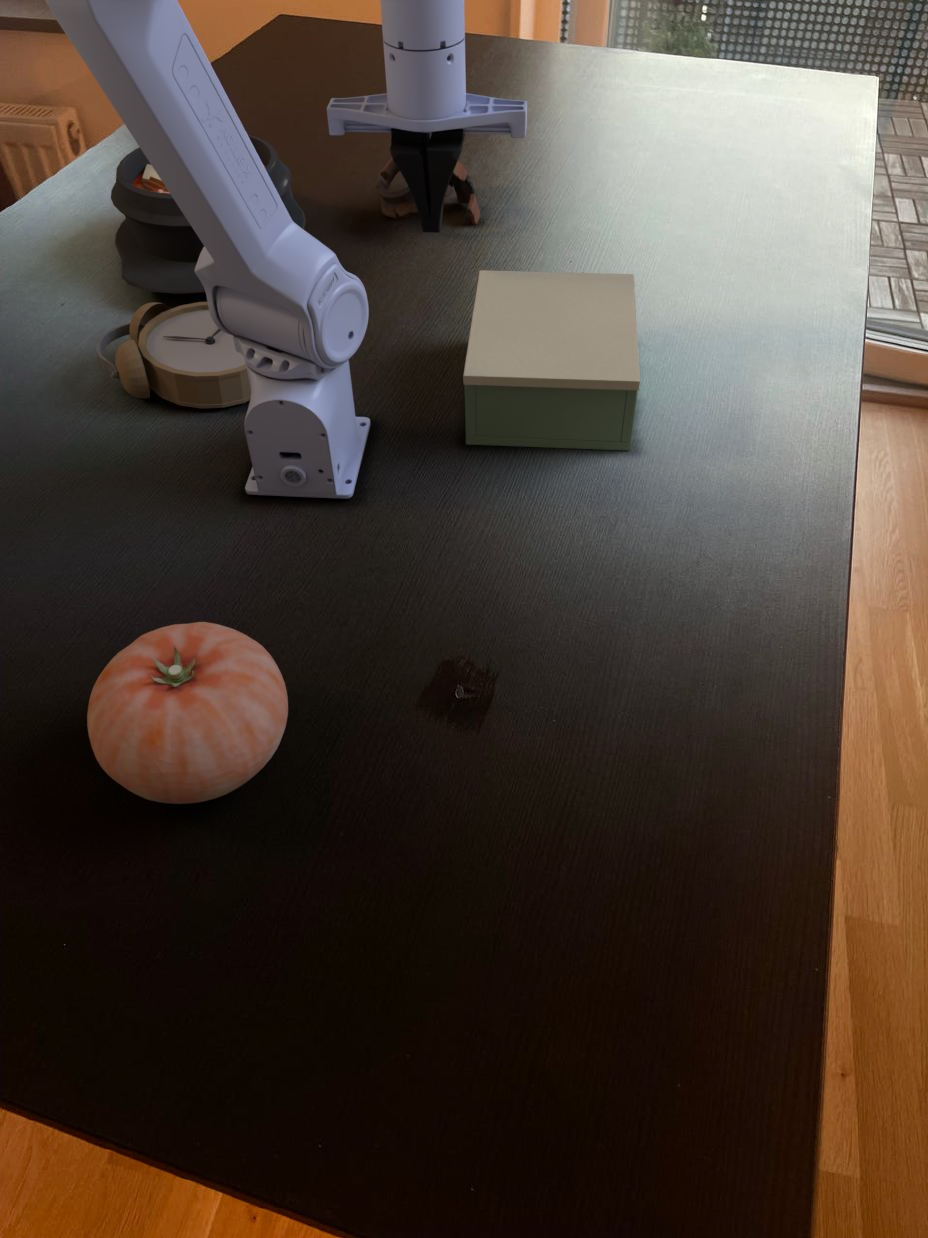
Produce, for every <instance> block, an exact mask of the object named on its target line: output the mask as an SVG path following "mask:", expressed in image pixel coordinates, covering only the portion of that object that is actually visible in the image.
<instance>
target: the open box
mask: <svg viewBox="0 0 928 1238" xmlns="http://www.w3.org/2000/svg"><path fill="white" fill-rule="evenodd" d="M638 392H639V390H609V389H579V388H549V387H519V386H489V385H464V420H465V423H464V424H465V425H464V426H465V445H469V446H471V445H473V446H474V445H475V446H500V447H523V448H525V447H526V448H551V449H553V448H554V449H575V450H576V449H579V450H580V449H581V450H605V451H627V452H628V451H631V448H632V440H633V430H634V425H635V424H634V422H635V416H636V407H637V402H638V401H637V400H638Z"/></svg>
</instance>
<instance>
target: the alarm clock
mask: <svg viewBox="0 0 928 1238" xmlns="http://www.w3.org/2000/svg"><path fill="white" fill-rule="evenodd" d="M126 336H129V338H130V339H128V340H126V341H124V342H123V343H121V344H120V345H119V346H118V348H117V351H116V354H115V365H114V364H113V363H112V362H111V360H108V359H107V358H105V356H103V353H104V351H105V350H106V348H107V347H108V346H109V345H110V344H111V343H113V342H114V341H116V340H118V339H120V338H123V337H126ZM95 347H96V348H95V349H96V355H97V360H98V362H99V364H100V366H101V367H102V368H103V369H104V370H106V371H107V372H109V373H110V377H111V379H114V380H117V381H118V383H119V382H120V384H121V386H122V387H123V388H124V389H125V391H126V392H127V393H128V394H130V395H131V396H132V397H135V398H137V399H150V398H151V391H153V392H154V393H155V394H156V395H158V397H160V398H161V399H163V400H165V401H168V402H170V403H173V404H176V405H178V406H182V407H187V408H188V407H190V408H194V409H195V408H196V409H222V408H227V407H232V406H237V405H240V404H245V403H247V402H250V399H251V387H250V382H249V378H248V373H247V368H246V363H245V359H244V356H243V355H242V354H241V353H239V352H237V351H236V349H235V345H234V340H233V335H230V334H227V333H225V332H223V331H222V330H220V329H219V328H218V327H217V326H216V324H215V323H214V321H213V319H212V317H211V315H210V311H209V307H208V302H207V301H198V302H192V303H187V304H182V305H181V304H180V305H178V306H175V307H173V308H170V306H168V305H167V304H165V303H162V302H148V303H145V304H143V305H141V306H140V307H139V308H138V309H137V310H136V311H135V313H134V314H133V316H132V317H131V319H130V322H128V323H124V324H120V325H117V326H115V327H113V328H111V329H109V330H107V331H105V332H104V333H103V334H102V335H101V336H100V338H98V340H97V342H96V346H95ZM150 390H151V391H150Z"/></svg>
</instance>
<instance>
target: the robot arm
mask: <svg viewBox="0 0 928 1238" xmlns="http://www.w3.org/2000/svg"><path fill="white" fill-rule="evenodd" d="M44 1H45V3H46V5H47V7H48V9H49V11H50V12H51V14H52V15H53V17H54V18H55V20H56V22H57V23H58V25H59V26H60V27H61V29H62V31H63V32H64V33H65V36H66V37H67V38H68V39H69V41H70V43H71V44H72V46H73V47H74V49H75V50H76V52H77V54H78V56H79V57H80V58H81V60H82V61H83V63H84V64H85V66H86V67H87V69H88V70H89V72H90V73H91V75H92V76H93V78H94V79H95V81H96V82H97V84H98V86H99V87H100V88H101V90H102V92H103V93H104V95H105V96H106V98H107V99H108V101H109V102H110V104H111V105H112V107H113V109H114V110H115V112H116V113H117V114H118V116H119V118H120V119H121V120H122V122H123V124H124V125H125V127H126V129H127V130H128V131H129V133H130V134H131V136H132V137H133V139H134V141H135V143H136V144H137V145H138V148H139V147H140V148H141V150H142V151H143V153H144V154H145V156H146V157H147V159H148V160H149V162H150V163H151V165H152V167H153V168H154V170H155V171H156V173H157V174H158V176H159V177H160V179H161V180H162V182H163V183H164V185H165V186H166V188H167V190H168V191H169V193H170V194H171V196H172V197H173V199H174V200H175V202H176V203H177V205H178V206H179V208H180V209H181V211H182V213H183V214H184V216H185V217H186V219H187V220H188V222H189V223H190V225H191V226H192V228H193V229H194V231H195V232H196V234H197V235H198V237H199V239H200V240H201V242H202V243H203V245H204V248H203V249H202V251H201V253H200V256H199V259H198V261H197V264H196V267H195V274H196V275H197V276H198V278H199V279H200V281H201V283H202V284H203V286H204V289H205V292H204V293H205V295H206V302H208V307H209V311H210V315H211V317H212V319H213V321H214V323H215V324H216V326H217V327H218V328H219V329H220V330H222V331H223V332H225V333H227V334H230V335H233V340H234V345H235V349H236V351H237V352H239V353H241V354H242V355H243V356H244V359H245V363H246V368H247V373H248V378H249V382H250V387H251V399H250V400H249V403H248V408H247V411H246V413H245V417H244V423H243V424H244V435H245V440H246V444H247V448H248V452H249V457H250V462H251V465H252V467H251V470H250V473H249V475H248V478H247V481H246V484H245V487H244V491H245V493H246V494H247V495H250V496H271V497H292V498H293V497H294V498H318V499H343V500H346V499H347V500H348V499H350V498H352V497H353V496H354V493H355V490H356V489H355V488H356V485H357V480H358V475H359V472H360V468H361V464H362V460H363V457H364V452H365V448H366V445H367V441H368V436H369V432H370V429H371V419H370V418H369V417H366V416H356V410H355V402H354V401H355V400H354V393H353V384H352V375H351V368H350V361H349V360H350V359H351V358H352V357H353V355H355V353H356V352H357V351H358V350H359V348H360V346H361V345H362V342H363V340H364V338H365V336H366V332H367V329H368V324H369V317H370V316H369V313H370V309H369V308H370V307H369V301H368V294H367V291H366V289H365V285H364V284H363V281H361V279H360V278H359V277H358V276H357V275H355V274H353V273H351V272H349V271H347V270H345V268H344V267H343V266H342V264H341V262H340V260H339V258H338V257H337V254H336V253H335V252H334V251H333V250H331V249H330V248H329V247H328V246H326V245H325V244H324V243H322V242H321V241H320V240H319V239H317V238H316V237H315V236H313V235H312V234H310V233H309V232H307V231H306V230H303V229H302V228H301V227H299V226H298V225H297V224H296V223H294V222H293V221H292V219H291V217H290V215H289V213H288V211H287V209H286V207H285V206H284V204H283V202H282V200H281V198H280V196H279V194H278V192H277V190H276V188H275V186H274V185H273V183H272V181H271V179H270V177H269V175H268V173H267V171H266V169H265V167H264V165H263V163H262V162H261V160H260V158H259V156H258V154H257V152H256V150H255V148H254V146H253V144H252V142H251V141H250V139H249V137H248V135H249V134H248V133H247V131H246V130H245V127H244V125H243V123H242V121H241V120H240V118H239V116H238V114H237V112H236V110H235V108H234V106H233V105H232V102H231V100H230V99H229V96H228V95H227V93H226V91H225V89H224V87H223V85H222V83H221V81H220V79H219V77H218V75H217V73H216V72H215V70H214V68H213V66H212V64H211V62H210V60H209V59H208V56H207V54H206V52H205V51H204V49H203V47H202V45H201V43H200V41H199V38H198V37H197V36H196V34H195V32H194V29H193V28H192V26H191V23H190V22H189V19H188V18H187V16H186V14H185V12H184V11H183V8H182V6H181V5H180V3H179V1H178V0H44ZM379 4H380V17H381V18H380V19H381V31H382V44H383V57H384V59H383V60H384V68H385V69H384V70H385V72H384V73H385V84H386V85H385V86H386V93H380V94H379V93H378V94H371V95H361V96H354V97H353V96H352V97H340V98H339V97H332V98H330V100H329V103H328V104H327V107H326V115H327V125H328V133H329V136H344V135H345V133H390V146H389V151H390V155H391V158H393V161H394V162H395V164H396V165H397V167H398V169H399V170H400V171H399V172H400V174H401V175H402V177H403V179H404V181H405V183H406V185H407V187H409V189H410V191H411V194H412V196H413V199H414V201H415V204H416V207H417V210H418V213H417V214H418V217H419V221H420V225H421V232H423V233H441V231H442V225H443V214H444V206H445V205H444V204H445V198H446V196H445V194H446V191H447V188H448V185H449V182H450V179H451V176H452V174H453V171H454V169H455V166H456V164H457V162H458V161H459V159H460V158H461V153H462V151H463V146H464V142H465V136H466V134H472V135H473V134H474V135H510V137H511V139H525V138H526V137H527V125H528V100H523V99H521V100H520V99H519V100H518V99H507V98H500V97H493V96H486V95H481V94H475V93H474V94H473V93H467V83H466V81H467V78H466V77H467V75H466V18H465V17H466V15H465V14H466V11H465V10H466V9H465V0H379Z"/></svg>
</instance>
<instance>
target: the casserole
mask: <svg viewBox="0 0 928 1238" xmlns="http://www.w3.org/2000/svg"><path fill="white" fill-rule="evenodd" d="M247 135H248V137H249V139H250V141H251V142H252V144H253V146H254V148H255V150H256V152H257V154H258V156H259V158H260V160H261V162H262V163H263V165H264V167H265V169H266V171H267V173H268V175H269V177H270V179H271V181H272V183H273V185H274V186H275V188H276V190H277V192H278V194H279V196H280V198H281V200H282V202H283V204H284V206H285V207H286V209H287V211H288V213H289V215H290V217H291V219H292V221H293V222H294V223H296V224H297V225H298V226H299V227H301V228H302V229H303V230H305V229H306V225H307V224H306V223H307V219H306V215H305V214H306V213H305V212H304V211H303V209H302V208H301V207H300V205H299V204H298V202H297V201H296V200H295V197H294V193H293V189H292V186H291V183H292V174H291V173H292V172H291V170H290V169H289V168H288V166H287V164H285V163H284V162H282V160H281V159H280V157H279V154H278V152H277V151H276V149H275V148H274V147H273V145H272V144H271V143H269V142H268V141H266V140H264V139H263V138H260V137H257V136H255V135H251V134H247ZM115 173H116V174H115V183H114V184H113V186H112V188H111V190H110V200H111V203H112V205H113V206H114V207H115V208H116V210H117V211H118V212H120V213H121V214H122V215H124V217H125V219H124V220H123V221H122V222H121V223H120V225H119V226H118V229H117V231H116V233H115V236H114V245H115V248H116V250H117V252H118V255H119V257H120V260H121V279H122V280H123V281H124V282H125V283H126V284H127V285H129V286H132V287H134V288H137V289H139V290H144V291H149V292H154V293H164V294H175V295H176V294H201V293H206V292H205V289H204V286H203V284H202V283H201V281H200V279H199V278H198V276H197V275H196V274H195V267H196V264H197V261H198V259H199V256H200V253H201V251H202V249H203V248H204V245H203V243H202V242H201V240H200V239H199V237H198V235H197V234H196V232H195V231H194V229H193V228H192V226H191V225H190V223H189V222H188V220H187V219H186V217H185V216H184V214H183V213H182V211H181V209H180V208H179V206H178V205H177V203H176V202H175V200H174V199H173V197H172V196H171V194H170V193H169V191H168V190H167V188H166V186H165V185H164V183H163V182H162V180H161V179H160V177H159V176H158V174H157V173H156V171H155V170H154V168H153V167H152V165H151V163H150V162H149V160H148V159H147V157H146V156H145V154H144V153H143V151H142V150H141V148H140V147H139V146H138V147H137V148H135V149H133V150H132V151H130V152H129V153H128V154H126V155H125V156H124V157H123V158H122V159H121V160H120V162H119V163H118V165H117V167H116V172H115ZM305 231H306V230H305Z"/></svg>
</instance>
